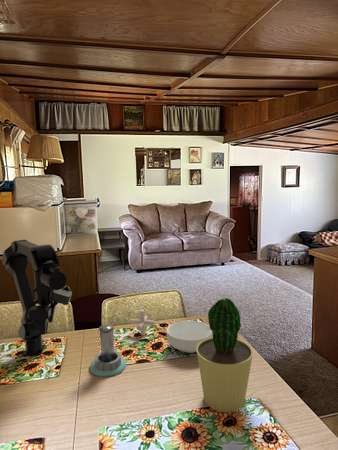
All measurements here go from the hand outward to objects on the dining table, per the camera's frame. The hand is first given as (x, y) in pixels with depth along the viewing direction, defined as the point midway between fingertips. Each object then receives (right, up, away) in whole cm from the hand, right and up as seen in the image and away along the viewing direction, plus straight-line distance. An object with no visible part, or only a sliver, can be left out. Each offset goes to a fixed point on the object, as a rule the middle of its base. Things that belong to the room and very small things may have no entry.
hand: (47, 328), depth 112 cm
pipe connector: (+30, -10, +23) cm, 39 cm away
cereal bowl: (+49, -11, +11) cm, 51 cm away
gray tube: (+20, -12, 0) cm, 24 cm away
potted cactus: (+56, -15, -18) cm, 61 cm away
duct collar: (+21, -13, 0) cm, 24 cm away
